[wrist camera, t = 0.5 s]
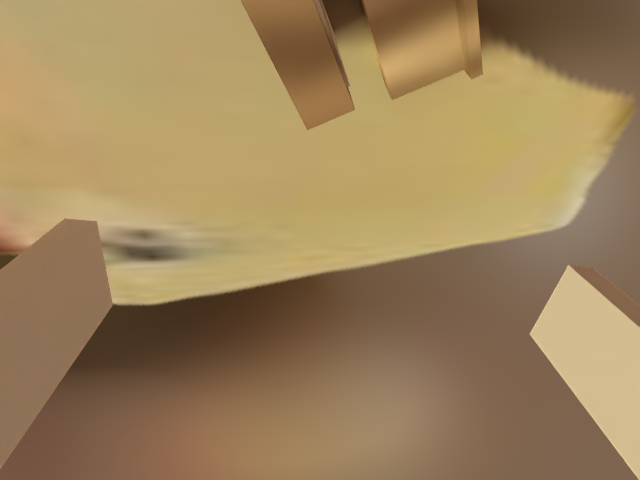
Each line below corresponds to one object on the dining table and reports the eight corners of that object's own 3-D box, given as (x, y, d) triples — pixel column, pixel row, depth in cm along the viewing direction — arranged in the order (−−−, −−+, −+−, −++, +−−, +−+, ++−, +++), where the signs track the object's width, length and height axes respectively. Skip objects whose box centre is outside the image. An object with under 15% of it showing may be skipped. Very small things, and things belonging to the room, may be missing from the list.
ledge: (338, -77, 28) (347, -64, 25) (442, -135, 26) (466, -130, 23) (385, 86, 38) (396, 110, 35) (463, 52, 36) (482, 74, 33)
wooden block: (240, -78, 27) (224, -31, 18) (284, -104, 27) (291, -70, 17) (298, 50, 35) (307, 129, 25) (334, 32, 34) (357, 108, 24)
